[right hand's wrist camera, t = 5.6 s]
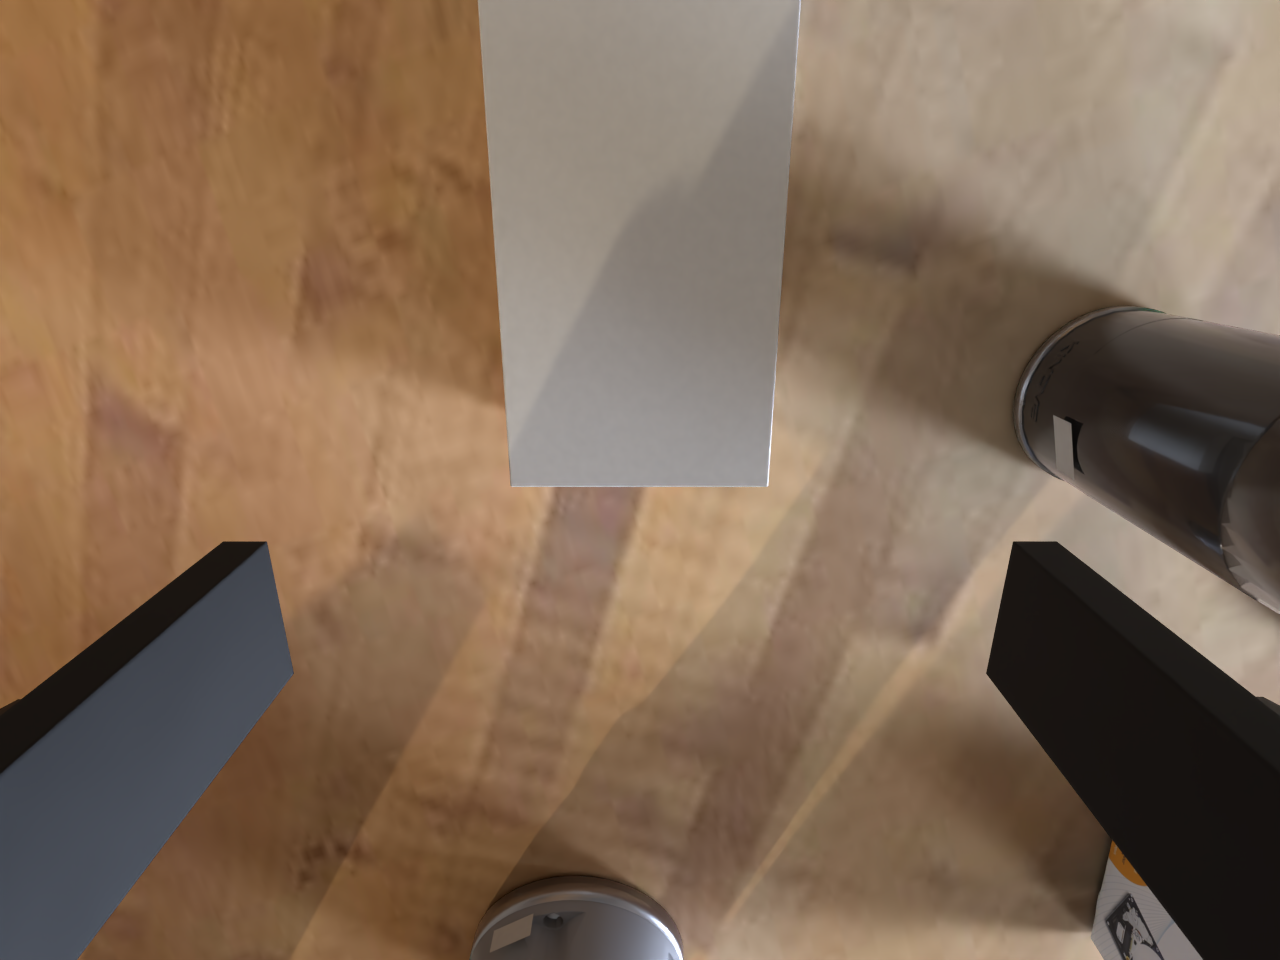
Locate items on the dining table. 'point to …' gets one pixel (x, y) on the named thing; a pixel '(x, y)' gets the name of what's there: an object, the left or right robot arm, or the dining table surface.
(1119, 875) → the hard drive box
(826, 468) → the dining table surface
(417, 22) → the dining table surface
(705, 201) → the cabinet
